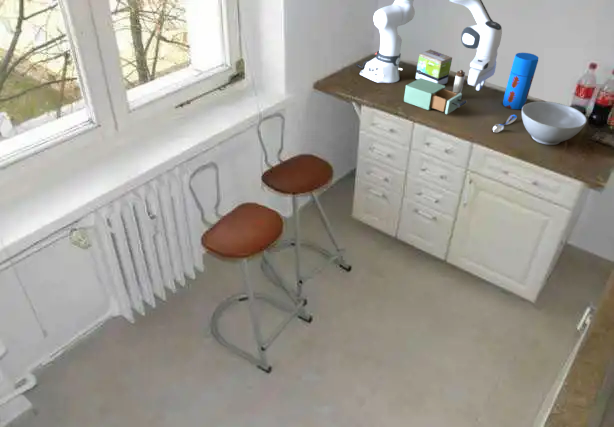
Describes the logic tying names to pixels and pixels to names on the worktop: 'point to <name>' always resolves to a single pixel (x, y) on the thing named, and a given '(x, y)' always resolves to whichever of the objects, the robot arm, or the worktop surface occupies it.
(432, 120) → the worktop surface
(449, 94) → the drawer
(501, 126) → the silver spoon
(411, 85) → the cabinet
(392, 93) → the worktop surface
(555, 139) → the decorative bowl
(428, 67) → the tea box
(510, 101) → the thermos
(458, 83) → the canister with knobbed lid
